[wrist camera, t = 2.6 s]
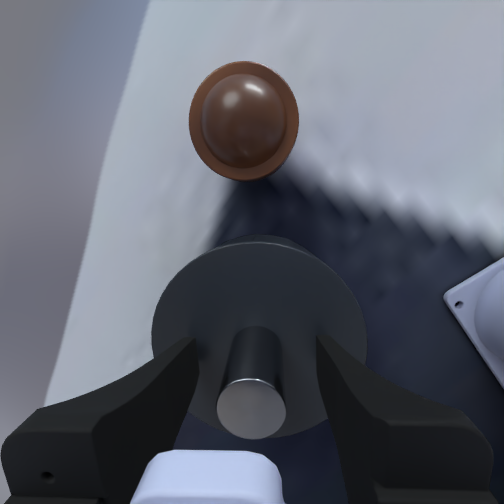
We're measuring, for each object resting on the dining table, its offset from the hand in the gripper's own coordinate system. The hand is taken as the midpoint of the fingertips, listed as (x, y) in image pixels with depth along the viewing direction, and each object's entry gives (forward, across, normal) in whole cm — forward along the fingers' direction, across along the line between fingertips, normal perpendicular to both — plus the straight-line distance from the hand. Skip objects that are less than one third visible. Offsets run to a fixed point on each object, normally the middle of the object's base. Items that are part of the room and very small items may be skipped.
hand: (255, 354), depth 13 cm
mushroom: (+6, 0, -11) cm, 12 cm away
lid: (+1, 0, 0) cm, 1 cm away
